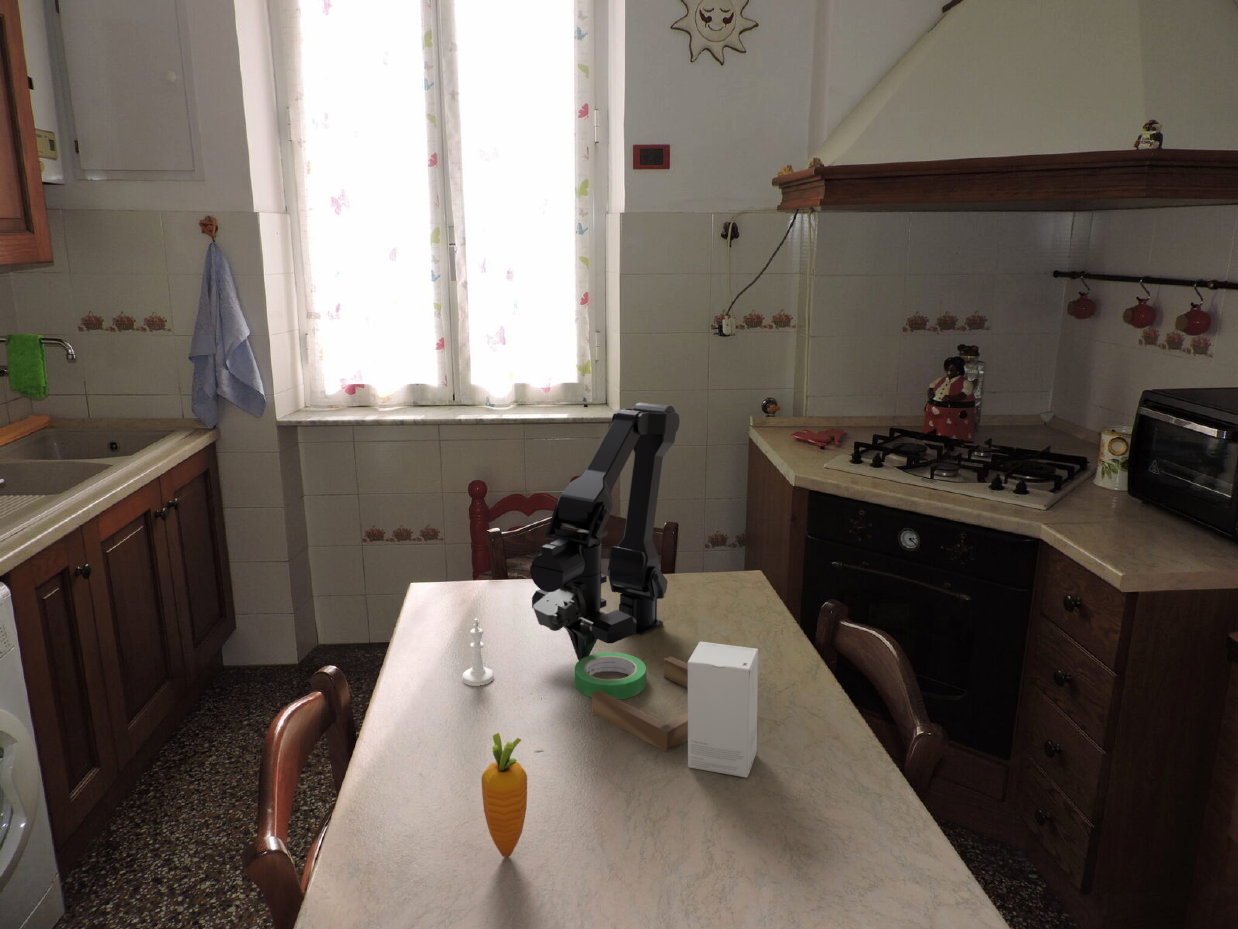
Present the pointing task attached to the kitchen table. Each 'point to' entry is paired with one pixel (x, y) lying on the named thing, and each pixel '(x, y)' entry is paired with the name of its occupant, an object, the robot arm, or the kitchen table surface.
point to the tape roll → (610, 663)
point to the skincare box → (722, 708)
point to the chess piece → (477, 661)
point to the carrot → (504, 797)
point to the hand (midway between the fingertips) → (582, 661)
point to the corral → (642, 722)
